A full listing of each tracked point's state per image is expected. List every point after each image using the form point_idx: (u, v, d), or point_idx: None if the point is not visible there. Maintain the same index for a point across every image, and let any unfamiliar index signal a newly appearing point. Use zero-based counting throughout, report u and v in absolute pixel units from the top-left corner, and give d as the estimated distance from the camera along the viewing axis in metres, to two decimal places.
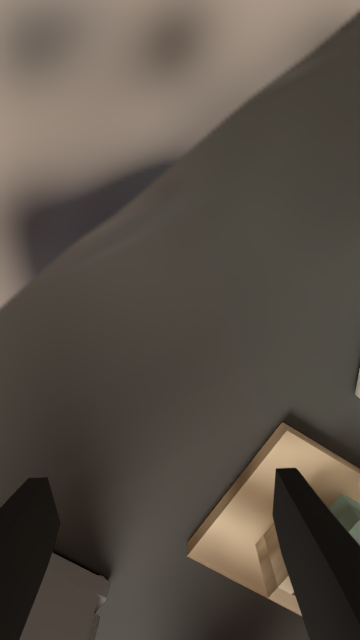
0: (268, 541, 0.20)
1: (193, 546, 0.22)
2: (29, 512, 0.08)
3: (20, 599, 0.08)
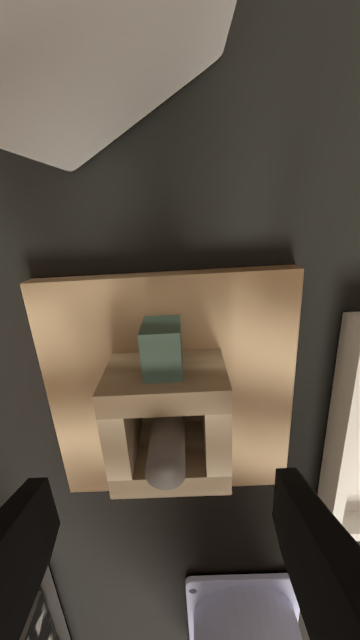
0: None
1: (68, 478, 0.17)
2: (29, 512, 0.08)
3: (20, 600, 0.08)
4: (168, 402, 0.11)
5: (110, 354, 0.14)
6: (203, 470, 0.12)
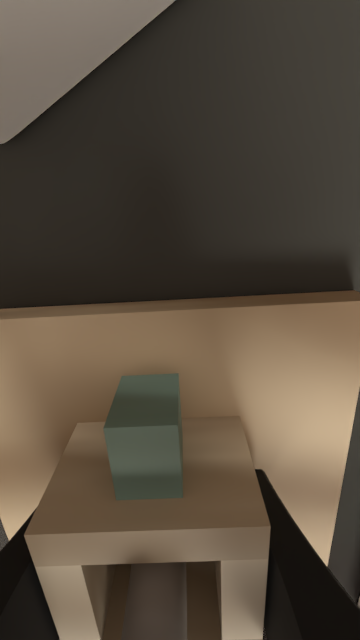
0: None
1: None
2: None
3: None
4: (158, 542, 0.06)
5: (74, 423, 0.09)
6: (215, 623, 0.08)
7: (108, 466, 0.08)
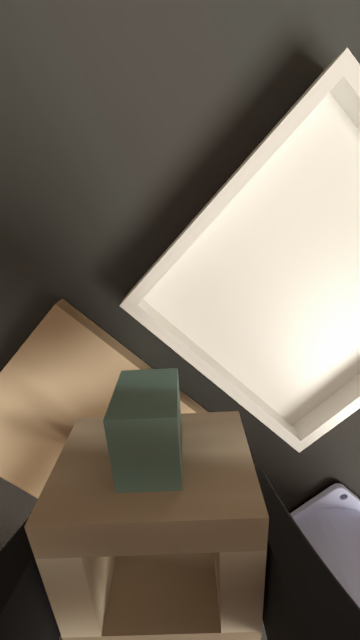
0: None
1: None
2: None
3: None
4: (157, 534, 0.06)
5: (23, 442, 0.18)
6: (214, 616, 0.08)
7: (108, 460, 0.08)
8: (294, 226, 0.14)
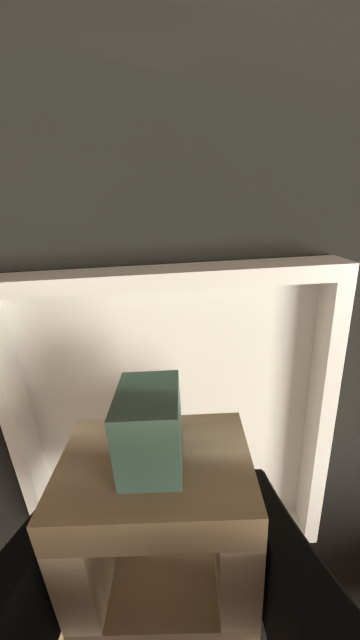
0: None
1: None
2: None
3: None
4: (158, 535, 0.06)
5: None
6: (214, 616, 0.08)
7: (109, 461, 0.08)
8: (99, 387, 0.13)
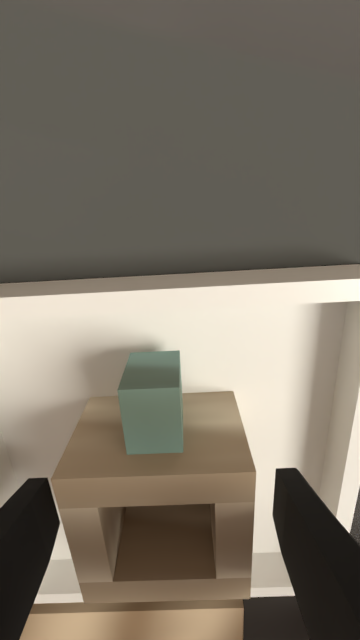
0: None
1: None
2: (29, 512, 0.08)
3: (20, 599, 0.08)
4: (162, 486, 0.07)
5: None
6: (211, 566, 0.09)
7: (118, 430, 0.09)
8: None
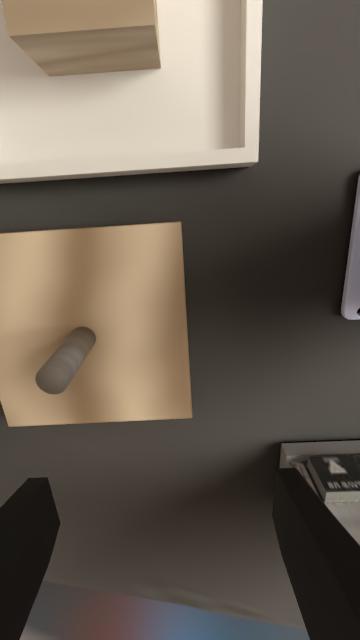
0: None
1: (178, 417, 0.19)
2: (29, 512, 0.08)
3: (20, 599, 0.08)
4: None
5: None
6: None
7: None
8: None
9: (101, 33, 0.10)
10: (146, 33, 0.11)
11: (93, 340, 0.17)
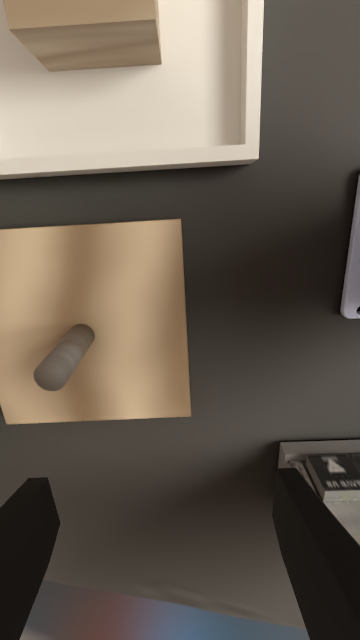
0: None
1: (177, 415, 0.19)
2: (29, 512, 0.08)
3: (20, 600, 0.08)
4: None
5: None
6: None
7: None
8: None
9: (102, 27, 0.10)
10: (147, 28, 0.11)
11: (92, 337, 0.17)
